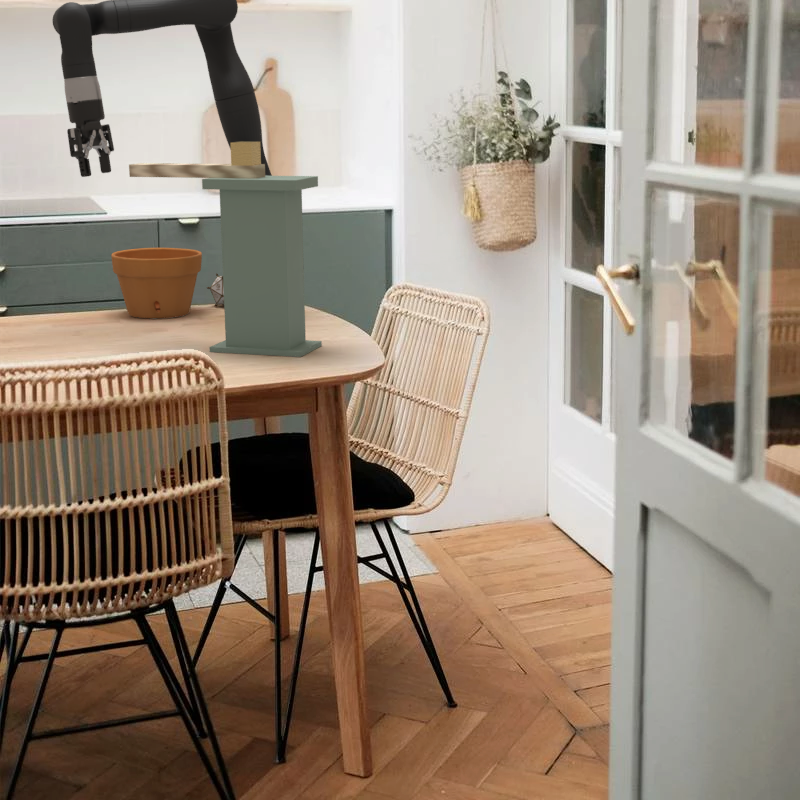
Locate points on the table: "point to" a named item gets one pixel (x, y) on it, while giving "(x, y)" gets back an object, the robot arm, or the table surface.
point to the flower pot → (157, 280)
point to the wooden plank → (196, 170)
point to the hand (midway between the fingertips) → (96, 174)
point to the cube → (245, 153)
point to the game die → (217, 290)
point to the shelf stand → (263, 264)
